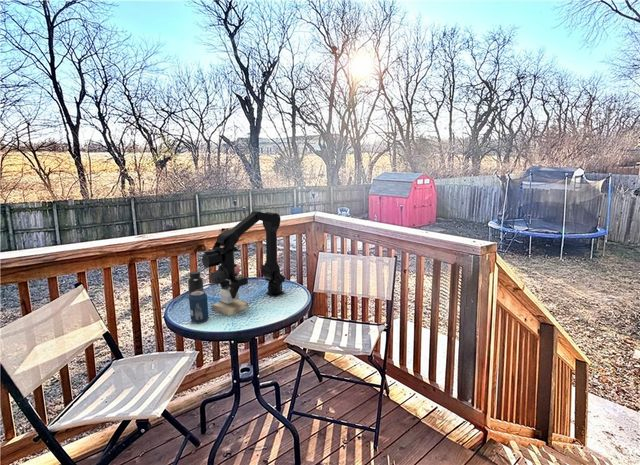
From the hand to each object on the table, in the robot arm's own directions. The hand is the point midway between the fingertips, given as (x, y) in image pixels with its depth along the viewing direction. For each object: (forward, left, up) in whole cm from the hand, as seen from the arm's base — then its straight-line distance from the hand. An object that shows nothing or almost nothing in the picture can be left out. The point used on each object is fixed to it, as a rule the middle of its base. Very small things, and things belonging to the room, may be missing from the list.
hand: (229, 297), depth 164 cm
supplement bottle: (0, -25, -6) cm, 26 cm away
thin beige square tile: (0, 0, -6) cm, 6 cm away
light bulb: (-20, -22, -6) cm, 30 cm away
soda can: (+15, -1, -6) cm, 16 cm away
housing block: (0, 0, -2) cm, 2 cm away
